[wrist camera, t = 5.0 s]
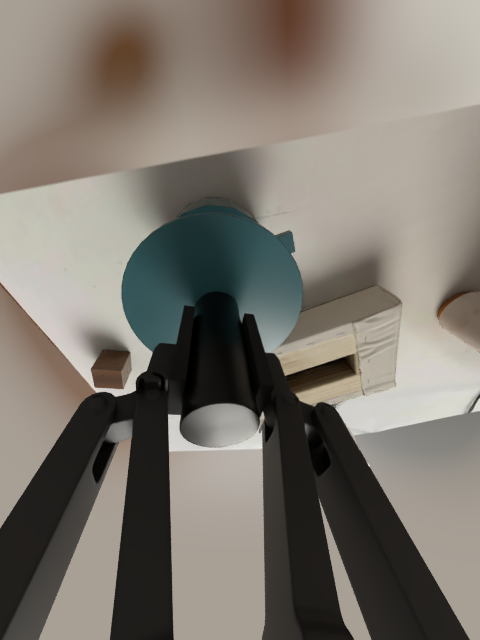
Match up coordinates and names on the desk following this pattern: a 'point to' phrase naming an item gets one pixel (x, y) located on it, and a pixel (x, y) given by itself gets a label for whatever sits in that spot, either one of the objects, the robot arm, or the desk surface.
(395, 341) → the box
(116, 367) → the block
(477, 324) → the lamp
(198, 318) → the lid
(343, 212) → the desk surface
